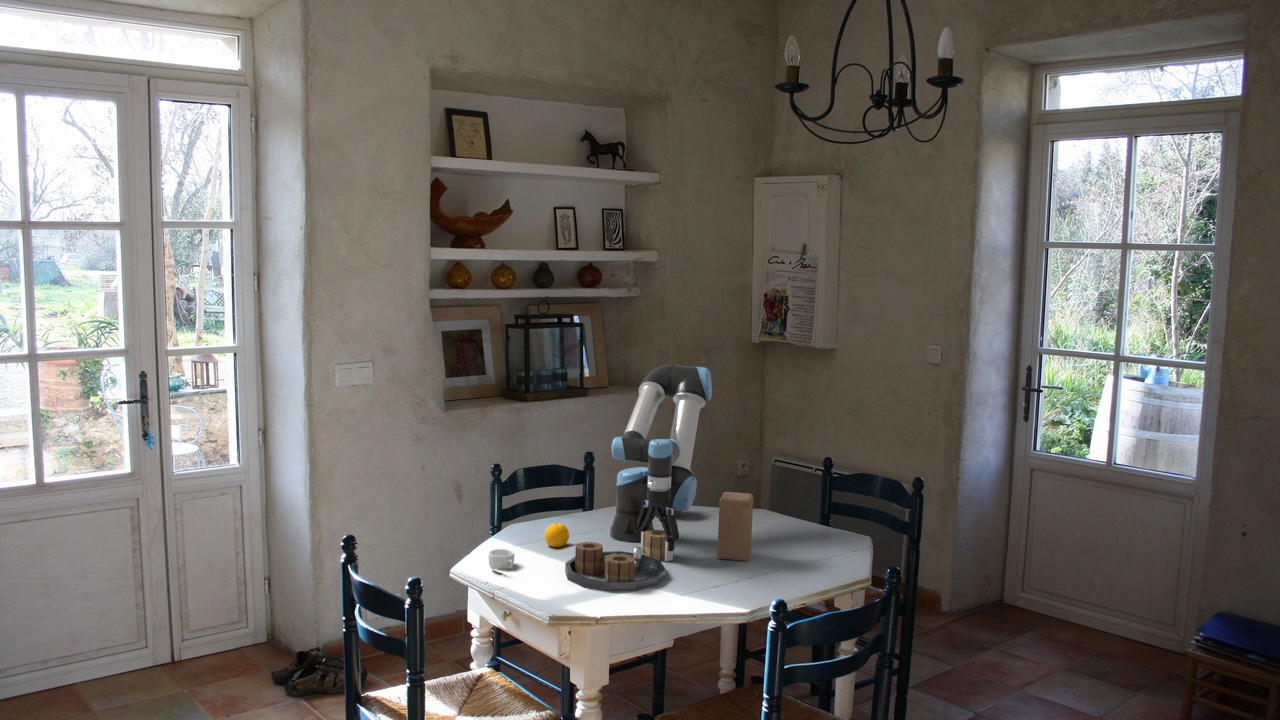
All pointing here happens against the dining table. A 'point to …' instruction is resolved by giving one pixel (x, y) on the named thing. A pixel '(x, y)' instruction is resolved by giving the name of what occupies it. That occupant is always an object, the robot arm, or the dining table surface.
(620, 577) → the seated gear
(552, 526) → the orange
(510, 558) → the teacup
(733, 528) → the wooden block
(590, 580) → the carrier
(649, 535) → the planet gear
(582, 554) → the seated gear
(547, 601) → the dining table surface
